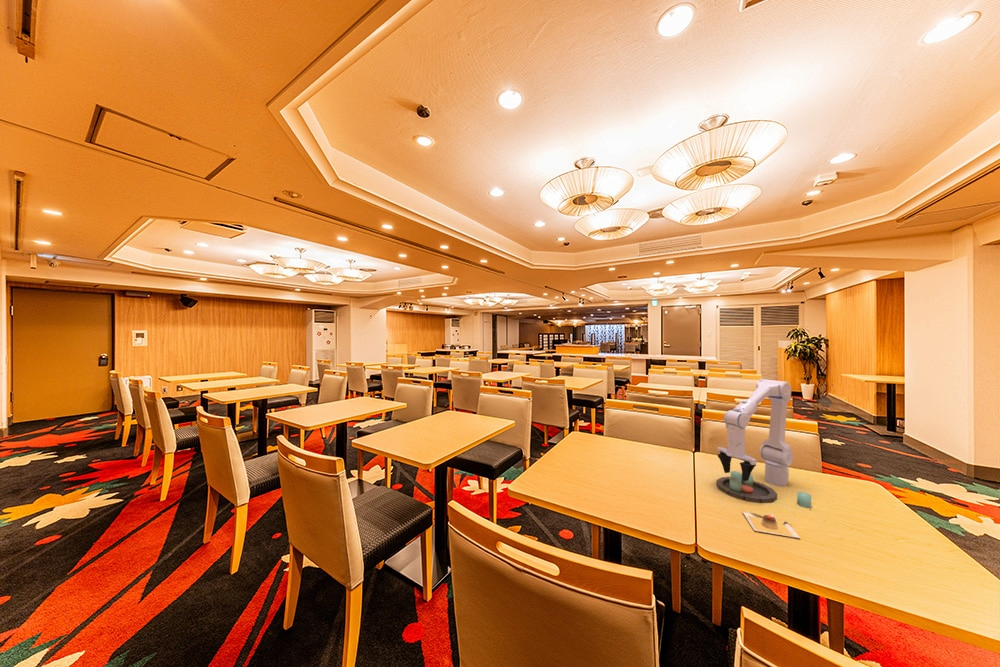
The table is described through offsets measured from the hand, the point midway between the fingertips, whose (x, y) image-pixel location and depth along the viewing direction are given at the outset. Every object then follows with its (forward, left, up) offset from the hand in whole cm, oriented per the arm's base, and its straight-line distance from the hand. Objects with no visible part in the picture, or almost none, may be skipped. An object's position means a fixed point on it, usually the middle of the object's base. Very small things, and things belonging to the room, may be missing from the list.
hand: (736, 476), depth 134 cm
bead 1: (-7, -2, -6) cm, 10 cm away
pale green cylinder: (-9, +1, -6) cm, 11 cm away
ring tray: (-5, +2, -7) cm, 9 cm away
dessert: (+15, +15, -8) cm, 23 cm away
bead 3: (-9, +19, -7) cm, 22 cm away
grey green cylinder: (0, 0, -6) cm, 6 cm away
